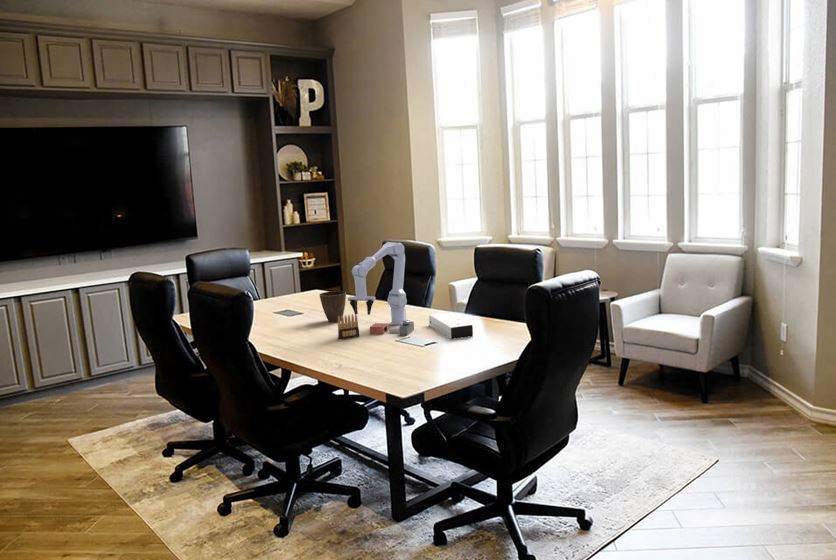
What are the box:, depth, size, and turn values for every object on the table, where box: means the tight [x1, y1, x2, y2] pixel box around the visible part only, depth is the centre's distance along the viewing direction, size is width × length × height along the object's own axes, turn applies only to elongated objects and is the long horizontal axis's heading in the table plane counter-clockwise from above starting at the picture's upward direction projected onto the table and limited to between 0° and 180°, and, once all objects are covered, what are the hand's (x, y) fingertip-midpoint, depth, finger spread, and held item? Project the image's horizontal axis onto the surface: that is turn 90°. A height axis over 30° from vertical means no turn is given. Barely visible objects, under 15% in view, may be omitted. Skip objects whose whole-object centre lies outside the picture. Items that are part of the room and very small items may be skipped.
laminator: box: [428, 312, 474, 340], centre depth 346 cm, size 34×12×6 cm, turn 17°
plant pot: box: [319, 290, 347, 323], centre depth 384 cm, size 15×15×16 cm
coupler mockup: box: [388, 319, 415, 337], centre depth 349 cm, size 12×11×6 cm
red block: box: [369, 322, 389, 335], centre depth 352 cm, size 8×7×4 cm
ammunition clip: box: [337, 313, 361, 340], centre depth 343 cm, size 11×2×12 cm, turn 112°
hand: (362, 314), depth 353 cm, fingers open, 6 cm apart
